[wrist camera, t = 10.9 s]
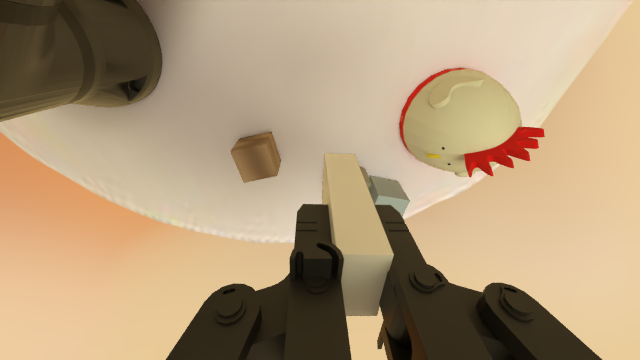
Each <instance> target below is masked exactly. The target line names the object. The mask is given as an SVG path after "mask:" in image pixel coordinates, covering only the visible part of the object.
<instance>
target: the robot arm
mask: <svg viewBox="0 0 640 360" xmlns="http://www.w3.org/2000/svg"><path fill="white" fill-rule="evenodd" d="M160 73H161V51H160V46H159V42H158V38H157V36H156V33H155V30H154V28H153V26H152V24H151V22H150V20H149V18H148V17H147V15H146V13H145V12H144V10H143V9H142V8H141V6H140V5H139V4H138V2H137V1H136V0H0V122H1V121H5V120H9V119H13V118H16V117H20V116H24V115H27V114H31V113H35V112H39V111H43V110H47V109H50V108H54V107H58V106H61V105H65V104H80V105H90V106H100V107H118V106H124V105H127V104H130V103H133V102H136V101H139V100H141V99H143V98H144V97H146V96H147V95H148V94H149V93H150V92H151V91H152V90H153V89H154V87H155V86H156V84H157V82H158V80H159V77H160ZM379 307H380V308H381V312H382V315H383V319H384V321H383V324H382V327H381V331H380V334H379V337H378V340H377V342H378V343H377V344H378V349H381V348H382V345H383V342H384V346H385V350H386V355H387V358H388V360H602V359H601V358H600V357H599V356H597V355H596V354H595V353H594V352H593V351H592V350H591V349H590V348H589V347H587V346H586V345H585V344H584V343H583V342H582V341H581V340H580V339H578V338H577V337H576V336H575V335H574V334H573V333H572V332H571V331H569V330H568V329H567V328H566V327H565V326H564V325H563V324H562V323H560V322H559V321H558V320H557V319H556V318H555V317H554V316H553V315H551V314H550V313H549V312H548V311H547V310H546V309H545V308H544V307H543V306H541V305H540V304H539V303H538V302H537V301H536V300H535V299H533V298H532V297H531V296H529V295H528V294H526V293H525V292H524V291H522V290H520V289H518V288H516V287H514V286H511V285H507V284H504V283H491V284H490V285H488V286H486V287H485V289H484V291H483V292H479V291H475V290H472V289H468V288H464V287H461V286H457V285H454V284H451V283H449V282H448V280H447V279H446V278H445V277H444V276H443V274H442V273H441V272H440V271H438V270H437V269H436V268H434V267H433V266H430V265H428V264H426V262H425V260H424V258H423V256H422V254H421V252H420V250H419V249H418V247H417V245H416V243H415V241H414V239H413V237H412V235H411V233H410V232H409V229H408V227H407V226H406V224H405V222H404V220H403V218H402V216H401V214H400V213H399V212H398V211H397V210H396V209H395V208H394V207H393V206H391V205H374V203H373V200H372V198H371V195H370V193H369V190H368V188H367V185H366V182H365V180H364V177H363V175H362V172H361V170H360V167H359V164H358V162H357V159H356V157H355V154H331V153H325V156H324V173H323V190H322V204H303V205H302V206H301V208H300V209H299V210H298V212H297V221H296V234H295V246H294V250H293V251H292V253H291V256H290V273H289V274H288V276H287V277H286V278H285V279H284V280H282V281H281V282H279V283H278V284H275V285H273V286H271V287H267V288H264V289H261V290H258V291H255V290H254V289H253V288H252V287H250V286H247V285H245V284H231V285H227V286H224V287H222V288H220V289H219V290H217V291H215V292H214V293H212V295H211V296H210V297H209V298H208V299H207V300H206V301H205V302H204V304H203V305H202V307H201V308H200V310H199V311H198V313H197V314H196V316H195V317H194V319H193V320H192V321H191V323H190V325H189V326H188V327H187V329H186V330H185V332H184V333H183V335H182V336H181V338H180V339H179V341H178V342H177V344H176V345H175V347H174V348H173V350H172V351H171V353H170V354H169V356H168V357H167V359H166V360H351V353H350V345H349V338H348V329H347V322H346V316H377V314H378V310H379Z"/></svg>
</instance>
